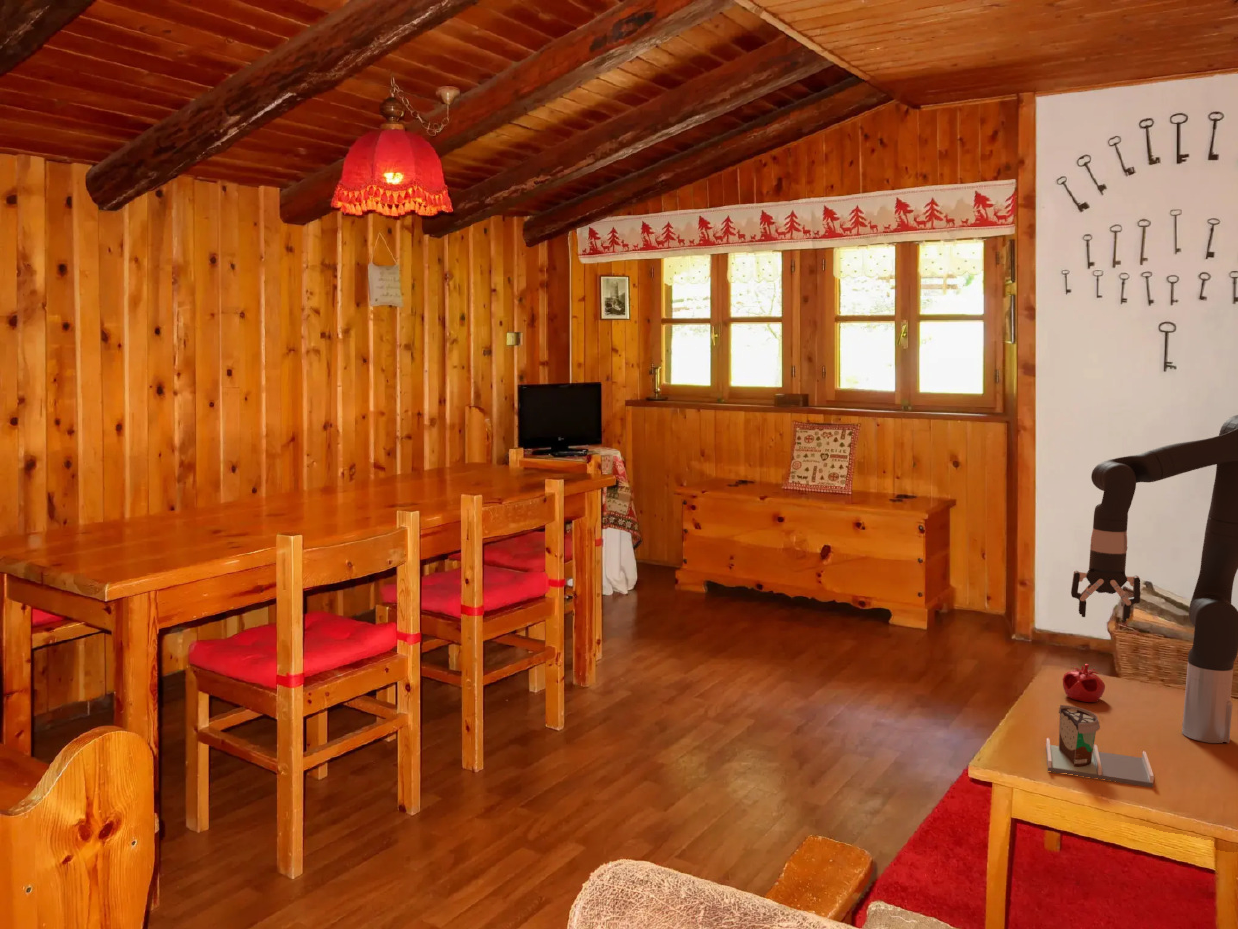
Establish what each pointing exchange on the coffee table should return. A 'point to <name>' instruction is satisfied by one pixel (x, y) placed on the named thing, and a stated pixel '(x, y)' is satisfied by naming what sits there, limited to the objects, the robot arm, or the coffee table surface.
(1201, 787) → the coffee table surface
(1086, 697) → the pomegranate
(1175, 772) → the coffee table surface
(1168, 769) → the coffee table surface
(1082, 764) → the food container
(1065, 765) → the sorting board
